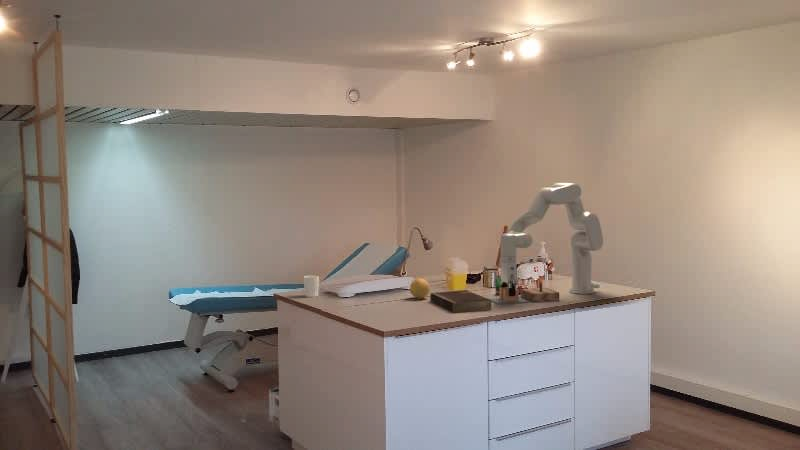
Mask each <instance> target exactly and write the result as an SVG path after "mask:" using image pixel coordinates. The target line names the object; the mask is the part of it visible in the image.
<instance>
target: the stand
mask: <svg viewBox="0 0 800 450" xmlns="http://www.w3.org/2000/svg"><path fill="white" fill-rule="evenodd" d="M520 298H522V299H525V300H527V301H529V302H531V303H541V302H542V301H546V302H559V301H560V292H558V291H556V290H555V289H554V290H553V289H550V288H548V287H543V282H541V281H539V288H538V287H537V288H521V289H520ZM542 303H543V302H542Z"/></svg>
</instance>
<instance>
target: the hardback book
mask: <svg viewBox="0 0 800 450" xmlns="http://www.w3.org/2000/svg"><path fill="white" fill-rule="evenodd" d="M429 298H430V299H429V300H430V302H431V303H433V304H435V305H437V306H439V307H441V308H442V309H445V310H446V311H450V312H451V313H465V312H466V313H467V312H479V311H480V312H481V311H491V310H492V301H491V300H490V299H488V297H485V296H482V295H479V294H477V293H475V292H472V291H470V290H466V289H462V290H452V291H450V290H449V291H440V292H439V291H438V292H430V297H429Z"/></svg>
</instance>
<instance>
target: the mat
mask: <svg viewBox="0 0 800 450" xmlns="http://www.w3.org/2000/svg"><path fill="white" fill-rule="evenodd" d="M487 299H490V300H491V303H494V304H496V305H508V304H510V305H511V304H513V303H514V304H528V303H530V301H528V300H526V299H524V298H521V296H519V301H506V302H505V301H503V300H501V299H499V297H491V298H490V297H489V298H488V297H487Z"/></svg>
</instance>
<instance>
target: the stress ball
mask: <svg viewBox="0 0 800 450" xmlns="http://www.w3.org/2000/svg"><path fill="white" fill-rule="evenodd" d="M430 286H431V285H430V283H429V282H428V281H427V280H426V279H424V278H421V277H420V278H419V277H418V278H416V279H413V280H412V281H411V284H410V286H409V292H410V294H411V295H412V297H414V298H416V299H418V300H421V299H424V298H426V297H427V296H429V293H430V290H431V287H430Z"/></svg>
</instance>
